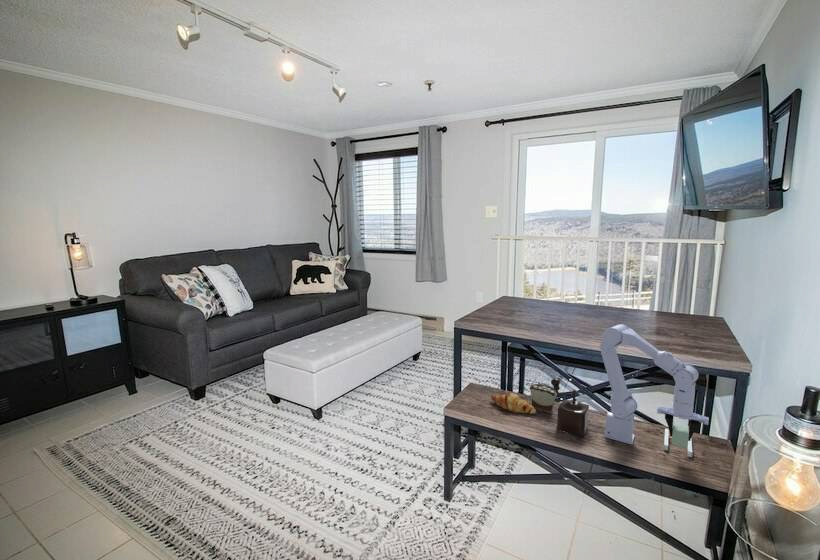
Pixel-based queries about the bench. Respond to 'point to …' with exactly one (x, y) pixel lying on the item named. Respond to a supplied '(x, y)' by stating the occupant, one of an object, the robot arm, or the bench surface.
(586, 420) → the manual coffee grinder
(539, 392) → the food container
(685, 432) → the block
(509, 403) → the croissant
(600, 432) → the bench surface
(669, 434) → the channel
